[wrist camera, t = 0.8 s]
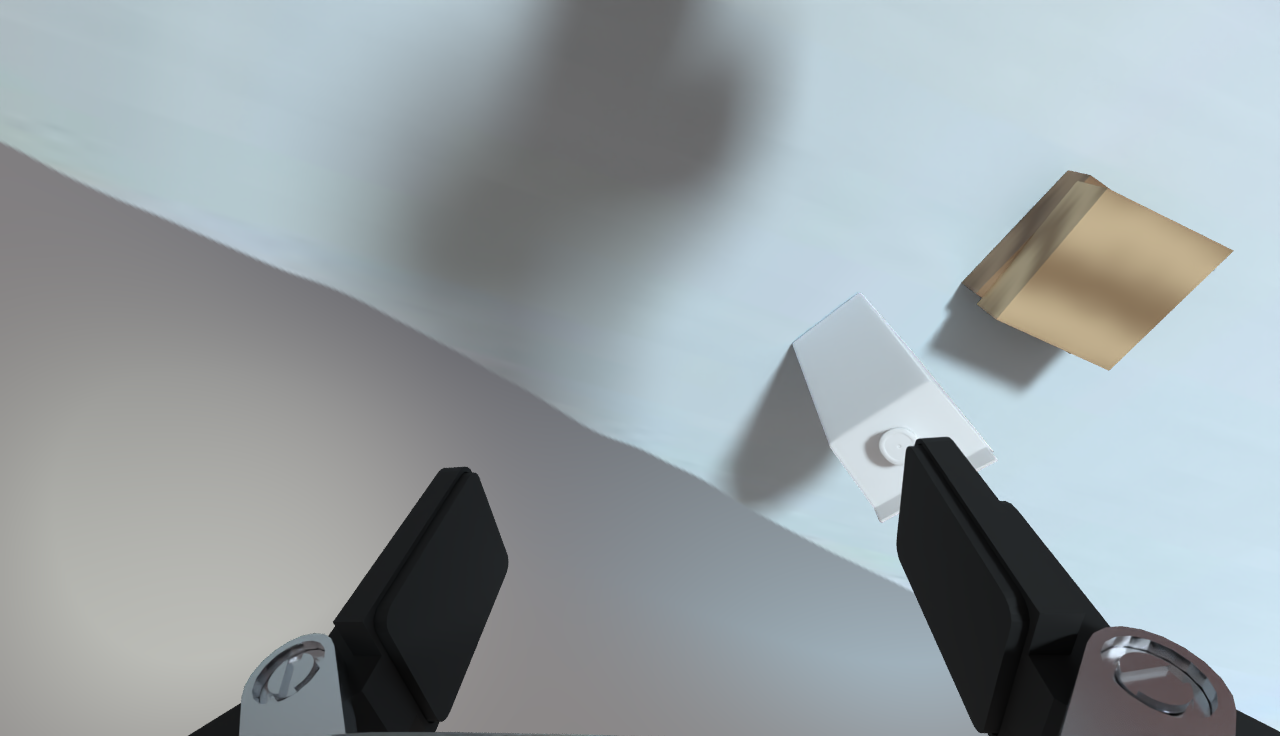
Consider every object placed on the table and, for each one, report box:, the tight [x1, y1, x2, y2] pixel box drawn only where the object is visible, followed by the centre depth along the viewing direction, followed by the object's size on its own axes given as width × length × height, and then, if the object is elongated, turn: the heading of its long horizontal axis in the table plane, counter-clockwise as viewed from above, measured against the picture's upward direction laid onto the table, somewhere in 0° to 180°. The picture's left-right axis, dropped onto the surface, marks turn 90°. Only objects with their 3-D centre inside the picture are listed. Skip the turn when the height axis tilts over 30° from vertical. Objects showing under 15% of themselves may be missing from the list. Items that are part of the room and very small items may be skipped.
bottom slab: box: [962, 170, 1109, 354], centre depth 39 cm, size 10×10×3 cm
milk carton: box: [793, 293, 998, 523], centre depth 37 cm, size 7×7×19 cm
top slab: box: [977, 181, 1233, 370], centre depth 37 cm, size 10×10×3 cm
